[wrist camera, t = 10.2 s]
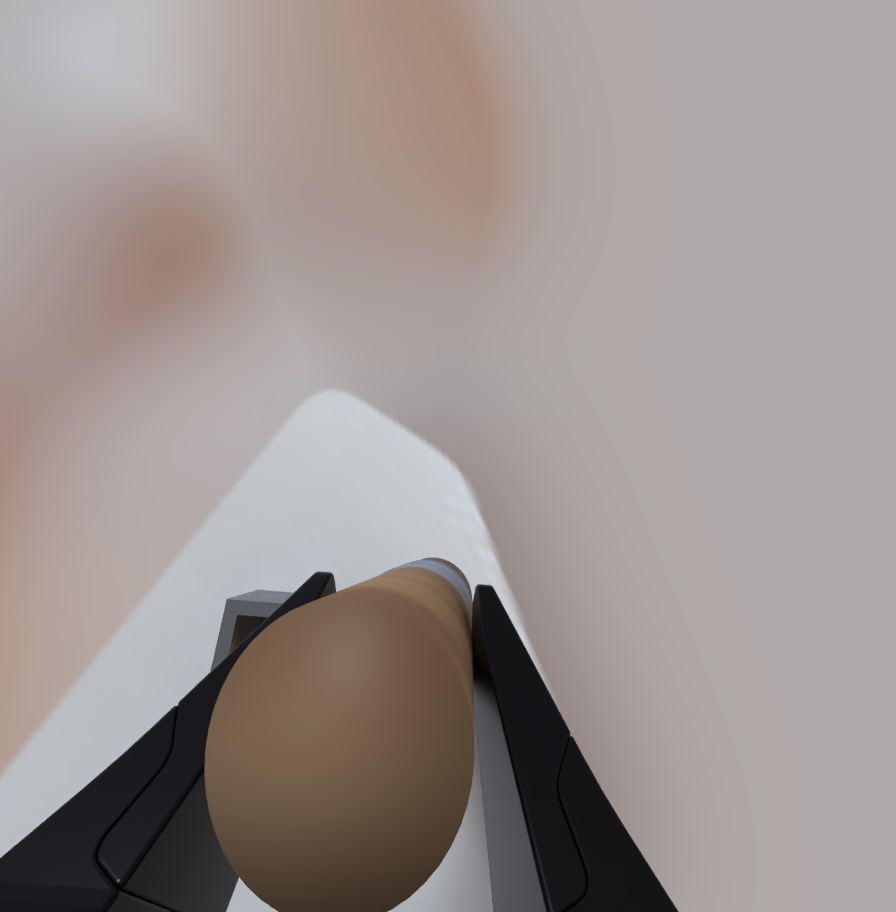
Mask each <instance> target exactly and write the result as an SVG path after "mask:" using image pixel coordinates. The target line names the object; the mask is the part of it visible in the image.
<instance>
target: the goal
mask: <svg viewBox="0 0 896 912" xmlns="http://www.w3.org/2000/svg"><path fill="white" fill-rule="evenodd" d="M292 594H293V593H289V592H277V591H264V590H256V591H253V592H249V593H246V594H242V595H239V596H236V597H232V598H229V599H227V601H226V605H225V610H224V614H223V619H222V623H221V628H220V632H219V636H218V641H217V645H216V650H215V654H214V659H213V663H212V667H211V671H212V670H213V669H214V668H215V667H216V666H217V665H219V664H220V663H221V662H222V661H223V660H224V659H225V658H226V657H227V656H228V655H229V654H230V653H231V652H232V651H233V650H234V649H235V648H236V647H237V646H239V645H240V644H241V643H242V642H243V641H244V640H245V639H246V638H247V637H248V636H249V635H250V634H251V633H252V632H253V631H254V630H255V629H256V628H258V627H259V626H260V625H261V624H262V623H263V621H264V617H269V616H270V615H271V614H272V613H273V612H274V611H275V610H276V609H278V608H279V607H280V606H281V605H282V604H283V603H284V602H285V601H286V600H287V599H288V598H289V597H290V596H291V595H292Z"/></svg>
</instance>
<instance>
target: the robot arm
mask: <svg viewBox="0 0 896 912" xmlns="http://www.w3.org/2000/svg"><path fill="white" fill-rule="evenodd" d="M333 593H336V587H335V580H334V575H333V574H332V573H331V572H316V573H315V574H313V575H312V576H311V577H310V578H309V579H308V580H307V581H306V582H305V583H304V584H303V585H302V586H301V587H300V588H299V589H298V590H297V591H295V592H294V593H293V594H292V595H291V596H290V597H289V598H288V599H287V600H286V601H285V602H284V603H283V604H282V605H281V606H280V607H279V608H278V609H276V610H275V611H274V612H273V613H272V614H271V615H270V616H269V617H268V618H267V619H266V620H265V621H264V622H263V623H262V624H261V625H260V626H259V627H258V628H256V629H255V630H254V631H253V632H252V633H251V634H250V635H249V636H248V637H247V638H246V639H245V640H244V641H243V642H242V643H241V644H240V645H239V646H237V647H236V648H235V649H234V650H233V651H232V652H231V653H230V654H229V655H228V656H227V657H226V658H225V659H224V660H223V661H222V662H221V663H220V664H219V665H217V666H216V667H215V668H214V669H213V670H212V671H211V672H210V673H209V674H208V675H207V676H206V677H205V678H204V679H203V680H202V681H201V682H200V683H198V684H197V685H196V686H195V687H194V688H193V689H192V690H191V691H190V692H189V693H188V694H187V695H186V696H185V697H184V698H183V699H182V700H181V701H180V702H179V703H178V706H174V707H173V708H172V709H171V710H170V711H169V712H168V713H167V714H166V715H165V716H164V717H162V718H161V719H160V720H159V721H158V722H157V723H156V724H155V725H154V726H153V727H152V728H151V729H150V730H149V731H147V732H146V733H145V734H144V735H143V736H142V737H141V738H140V739H139V740H138V741H137V742H135V743H134V744H133V745H132V746H131V747H130V748H129V749H128V750H127V751H126V752H125V753H124V754H122V755H121V756H120V757H119V758H118V759H117V760H116V761H114V762H113V763H112V764H111V765H110V766H109V767H107V768H106V769H105V770H104V771H103V772H102V773H100V774H99V775H98V776H97V777H96V778H95V779H94V780H92V781H91V782H90V783H89V784H88V785H87V786H85V787H84V788H83V789H82V790H81V791H80V792H78V793H77V794H76V795H75V796H74V797H72V798H71V799H70V800H69V801H68V802H66V803H65V804H64V805H63V806H62V807H61V808H59V809H58V810H57V811H56V812H55V813H53V814H52V815H51V816H50V817H49V818H47V819H46V820H45V821H44V822H43V823H41V824H40V825H39V826H38V827H37V828H36V829H34V830H33V831H32V832H31V833H30V834H28V835H27V836H26V837H25V838H24V839H22V840H21V841H20V842H19V843H18V844H16V845H15V846H14V847H13V848H12V849H11V850H9V851H8V852H7V853H6V854H5V855H3V856H2V857H1V858H0V912H226V910H227V908H228V905H229V902H230V900H231V897H232V894H233V892H234V889H235V886H236V884H237V881H238V878H239V876H238V875H237V873H236V872H235V871H234V869H233V868H232V866H231V864H230V863H229V861H228V859H227V857H226V856H225V854H224V852H223V850H222V848H221V845H220V843H219V841H218V838H217V836H216V834H215V831H214V827H213V824H212V820H211V817H210V813H209V808H208V802H207V796H206V788H205V771H204V769H205V749H206V742H207V736H208V729H209V725H210V721H211V717H212V714H213V710H214V707H215V704H216V701H217V699H218V696H219V693H220V691H221V688H222V686H223V684H224V682H225V680H226V678H227V676H228V674H229V672H230V671H231V669H232V668H233V666H234V665H235V663H236V661H237V660H238V658H239V657H240V655H241V654H242V653H243V652H244V650H245V649H246V648H247V647H248V645H249V644H250V643H251V642H252V641H253V640H254V639H255V638H256V637H257V636H258V635H259V634H260V633H261V632H262V631H263V630H264V629H265V628H266V627H268V626H269V625H270V624H272V623H273V622H274V621H275V620H277V619H278V618H280V617H281V616H283V615H285V614H286V613H288V612H290V611H292V610H293V609H296V608H298V607H300V606H303V605H305V604H307V603H310V602H312V601H315V600H318V599H320V598H323V597H325V596H328V595H331V594H333ZM472 649H473V699H474V709H475V720H476V731H477V741H478V752H479V762H480V773H481V784H482V794H483V805H484V816H485V826H486V837H487V848H488V858H489V869H490V879H491V890H492V901H493V911H494V912H678V910H677V909H676V907H675V905H674V904H673V902H672V901H671V899H670V898H669V896H668V895H667V893H666V891H665V890H664V888H663V887H662V885H661V884H660V882H659V880H658V879H657V877H656V876H655V874H654V872H653V871H652V869H651V868H650V866H649V865H648V863H647V862H646V860H645V858H644V857H643V855H642V854H641V852H640V851H639V849H638V847H637V846H636V844H635V843H634V841H633V840H632V838H631V836H630V835H629V833H628V832H627V830H626V829H625V827H624V825H623V823H622V822H621V820H620V819H619V817H618V815H617V814H616V812H615V810H614V809H613V807H612V806H611V804H610V802H609V801H608V799H607V797H606V796H605V794H604V792H603V791H602V789H601V787H600V785H599V784H598V782H597V780H596V778H595V776H594V775H593V773H592V771H591V769H590V768H589V766H588V764H587V762H586V761H585V759H584V757H583V755H582V753H581V751H580V749H579V747H578V745H577V744H576V742H575V740H574V738H573V737H572V736H570V731H569V729H568V727H567V725H566V723H565V721H564V720H563V718H562V716H561V714H560V712H559V710H558V708H557V706H556V704H555V703H554V701H553V699H552V697H551V695H550V693H549V691H548V689H547V688H546V686H545V684H544V682H543V680H542V678H541V676H540V674H539V672H538V671H537V669H536V667H535V665H534V663H533V661H532V659H531V657H530V656H529V654H528V652H527V650H526V648H525V646H524V644H523V642H522V641H521V639H520V637H519V635H518V633H517V631H516V629H515V627H514V625H513V624H512V622H511V620H510V618H509V616H508V614H507V612H506V610H505V609H504V607H503V605H502V603H501V601H500V599H499V597H498V595H497V594H496V592H495V590H494V588H493V587H492V586H491V585H481V584H478V585H477V586H476V588H475V594H474V599H473V606H472Z"/></svg>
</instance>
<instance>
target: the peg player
mask: <svg viewBox="0 0 896 912" xmlns="http://www.w3.org/2000/svg"><path fill="white" fill-rule="evenodd" d="M472 606H473V602H472V594H471V589H470V585H469V583H468V580H467V579H466V577H465V575H464V574H463V573H462V571H461V570H460V569H459V568H458V567H457V566H455V565H454V564H452V563H451V562H449V561H447V560H444V559H440V558H425V559H421V560H417V561H413V562H410V563H407V564H404V565H401V566H399V567H396V568H393V569H391V570H389V571H386V572H385V573H383V574H381V575H380V576H377V577H375V578H372V579H369V580H367V581H364V582H362V583H359V584H356V585H354V586H351V587H349V588H346V589H344V590H341V591H338V592H336V593H333V594H331V595H328V596H325V597H323V598H320V599H318V600H315V601H312V602H310V603H307V604H305V605H303V606H300V607H298V608H296V609H293V610H292V611H290V612H288V613H286V614H285V615H283V616H281V617H280V618H278V619H277V620H275V621H274V622H273V623H272V624H270V625H269V626H268V627H266V628H265V629H264V630H263V631H262V632H261V633H260V634H259V635H258V636H257V637H256V638H255V639H254V640H253V641H252V642H251V643H250V644H249V645H248V647H247V648H246V649H245V650H244V652H243V653H242V654H241V655H240V657H239V658H238V660H237V661H236V663H235V665H234V666H233V668H232V669H231V671H230V672H229V674H228V676H227V678H226V680H225V682H224V684H223V686H222V688H221V691H220V693H219V696H218V699H217V701H216V704H215V707H214V710H213V714H212V717H211V721H210V725H209V729H208V736H207V742H206V749H205V769H204V771H205V788H206V796H207V802H208V808H209V813H210V817H211V820H212V824H213V827H214V831H215V834H216V836H217V838H218V841H219V843H220V845H221V848H222V850H223V852H224V854H225V856H226V857H227V859H228V861H229V863H230V864H231V866H232V868H233V869H234V871H235V872H236V873H237V875H238V876H239V877H240V878H241V880H242V881H243V882H244V883H245V885H246V886H247V887H248V888H249V889H250V890H251V891H252V892H253V893H254V894H256V895H257V896H258V897H259V898H260V899H261V900H262V901H264V902H265V903H267V904H268V905H270V906H271V907H272V908H274V909H275V910H277V911H279V912H387V911H389V910H391V909H393V908H394V907H396V906H397V905H399V904H400V903H402V902H403V901H405V900H406V899H408V898H409V897H410V896H411V895H412V894H413V893H415V892H416V891H417V890H418V889H419V888H420V887H421V886H422V885H423V884H424V883H425V882H426V881H427V880H428V879H429V877H430V876H431V875H432V874H433V872H434V871H435V870H436V869H437V868H438V866H439V865H440V863H441V862H442V860H443V858H444V857H445V855H446V854H447V852H448V850H449V849H450V847H451V845H452V843H453V841H454V839H455V837H456V834H457V832H458V830H459V828H460V826H461V823H462V820H463V817H464V813H465V810H466V807H467V804H468V799H469V794H470V790H471V785H472V776H473V766H474V724H473V649H472Z"/></svg>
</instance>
